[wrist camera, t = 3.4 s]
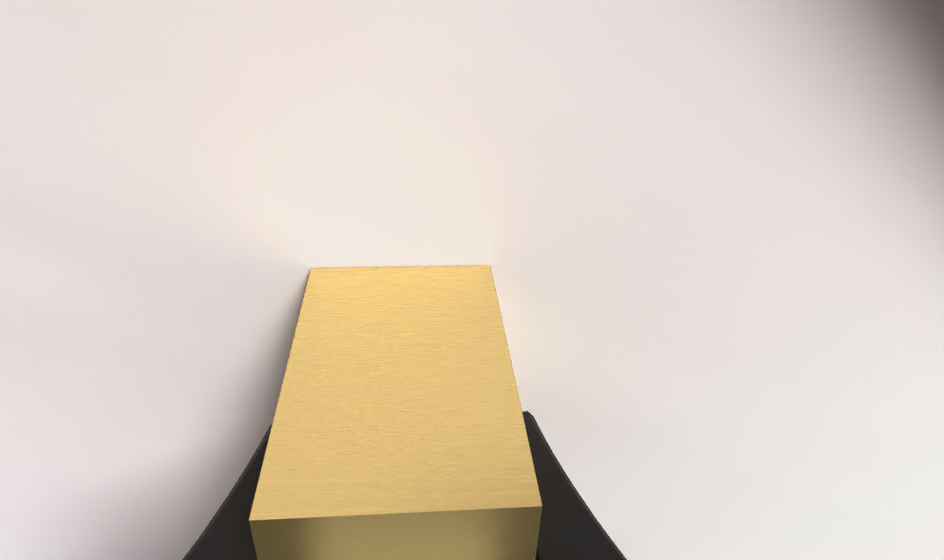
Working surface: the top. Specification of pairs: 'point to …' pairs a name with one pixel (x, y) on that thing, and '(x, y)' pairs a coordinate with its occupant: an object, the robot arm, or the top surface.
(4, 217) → the top surface
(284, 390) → the brass rectangular block
